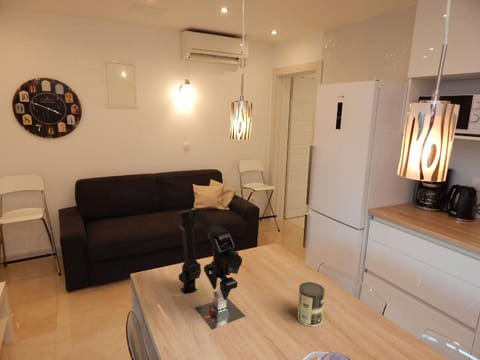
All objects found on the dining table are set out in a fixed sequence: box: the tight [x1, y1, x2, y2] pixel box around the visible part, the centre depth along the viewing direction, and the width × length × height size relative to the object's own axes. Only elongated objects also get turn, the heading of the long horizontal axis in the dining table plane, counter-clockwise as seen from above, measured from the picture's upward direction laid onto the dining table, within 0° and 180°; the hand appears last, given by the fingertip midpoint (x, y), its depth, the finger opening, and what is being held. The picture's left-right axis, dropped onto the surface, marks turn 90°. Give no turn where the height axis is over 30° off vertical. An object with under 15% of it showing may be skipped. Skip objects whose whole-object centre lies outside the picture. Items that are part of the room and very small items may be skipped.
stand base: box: [194, 297, 246, 330], centre depth 133 cm, size 16×16×4 cm
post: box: [213, 289, 226, 312], centre depth 132 cm, size 4×4×9 cm
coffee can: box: [297, 281, 326, 328], centre depth 130 cm, size 10×10×14 cm
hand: (219, 294), depth 131 cm, fingers open, 9 cm apart
